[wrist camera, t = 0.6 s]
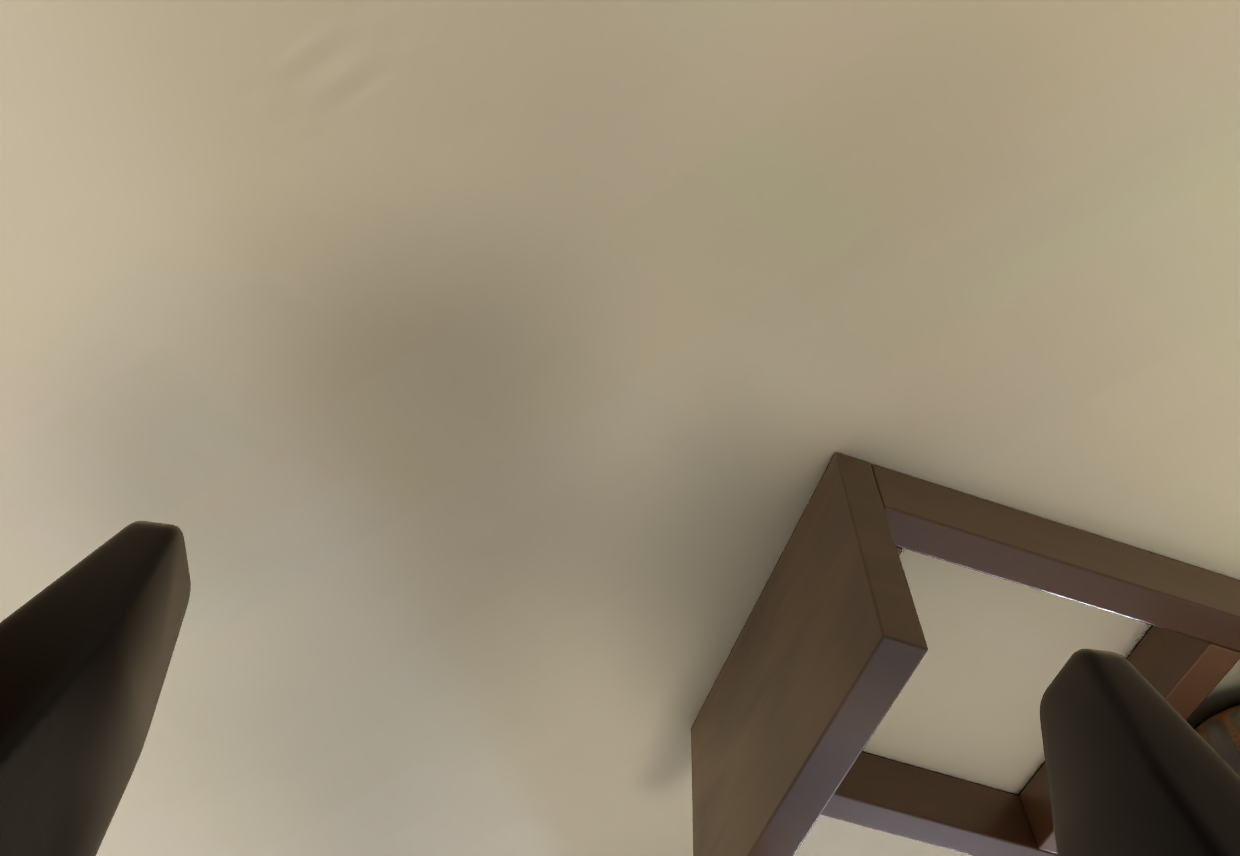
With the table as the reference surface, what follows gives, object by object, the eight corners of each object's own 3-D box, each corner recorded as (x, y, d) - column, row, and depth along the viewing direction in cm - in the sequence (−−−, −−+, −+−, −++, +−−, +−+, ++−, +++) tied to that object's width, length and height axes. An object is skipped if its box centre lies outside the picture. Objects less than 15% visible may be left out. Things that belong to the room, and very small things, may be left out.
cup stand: (1291, 894, 34) (1424, 1124, 28) (690, 728, 31) (694, 941, 25) (1530, 671, 29) (1759, 894, 23) (835, 451, 26) (883, 636, 20)
